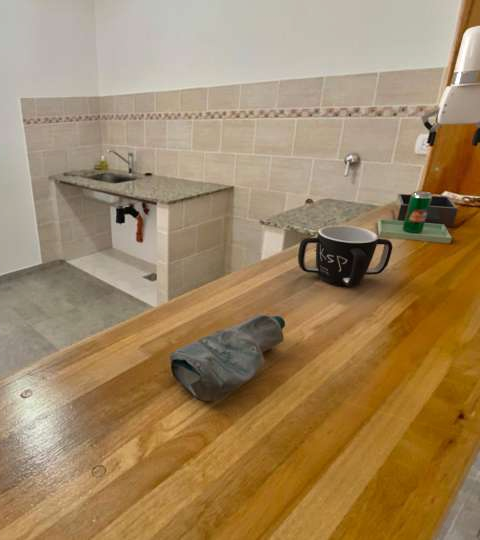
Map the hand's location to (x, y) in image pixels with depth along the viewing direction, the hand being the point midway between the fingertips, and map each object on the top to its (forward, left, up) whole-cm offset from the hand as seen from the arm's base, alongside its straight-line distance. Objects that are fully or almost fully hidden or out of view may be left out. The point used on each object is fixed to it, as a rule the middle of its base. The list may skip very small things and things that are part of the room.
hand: (451, 145), depth 109 cm
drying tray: (+4, +4, -26) cm, 26 cm away
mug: (+22, +48, -26) cm, 59 cm away
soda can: (+4, +4, -25) cm, 26 cm away
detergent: (+36, +91, -26) cm, 101 cm away
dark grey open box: (0, -13, -26) cm, 29 cm away
